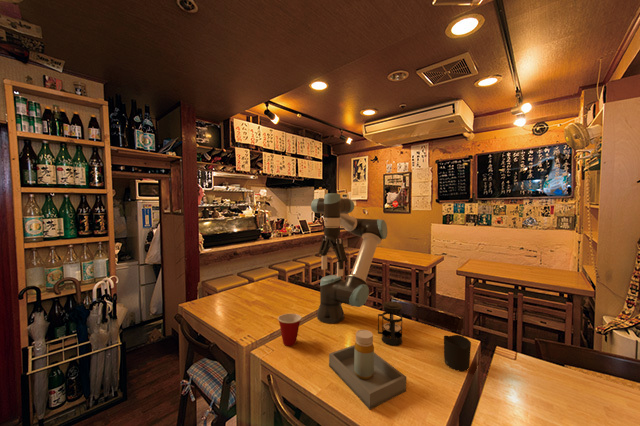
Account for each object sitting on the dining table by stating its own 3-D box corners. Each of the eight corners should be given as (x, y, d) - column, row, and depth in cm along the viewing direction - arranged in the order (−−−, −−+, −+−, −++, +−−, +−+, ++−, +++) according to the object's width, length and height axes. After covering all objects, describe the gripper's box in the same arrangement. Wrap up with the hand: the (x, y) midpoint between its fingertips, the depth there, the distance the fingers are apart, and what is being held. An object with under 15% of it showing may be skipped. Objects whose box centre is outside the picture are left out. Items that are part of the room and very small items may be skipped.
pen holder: (445, 354, 106) (446, 331, 106) (471, 363, 101) (471, 338, 100) (441, 366, 99) (441, 341, 98) (469, 375, 93) (469, 349, 93)
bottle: (371, 382, 88) (372, 340, 87) (352, 377, 90) (352, 336, 90) (374, 370, 94) (375, 331, 94) (356, 365, 97) (357, 327, 96)
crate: (361, 354, 106) (361, 342, 106) (406, 391, 85) (406, 376, 85) (329, 366, 98) (329, 353, 98) (369, 409, 77) (369, 393, 77)
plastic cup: (303, 337, 120) (303, 312, 119) (299, 350, 109) (299, 322, 108) (281, 335, 121) (281, 311, 120) (274, 348, 110) (274, 321, 110)
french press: (402, 336, 120) (403, 289, 120) (405, 347, 111) (406, 296, 111) (377, 334, 123) (378, 287, 122) (378, 344, 114) (378, 294, 113)
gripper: (312, 225, 125) (312, 267, 126) (340, 229, 103) (340, 280, 104) (325, 224, 129) (325, 265, 129) (355, 228, 107) (354, 278, 108)
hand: (331, 272), depth 117 cm, fingers open, 13 cm apart
